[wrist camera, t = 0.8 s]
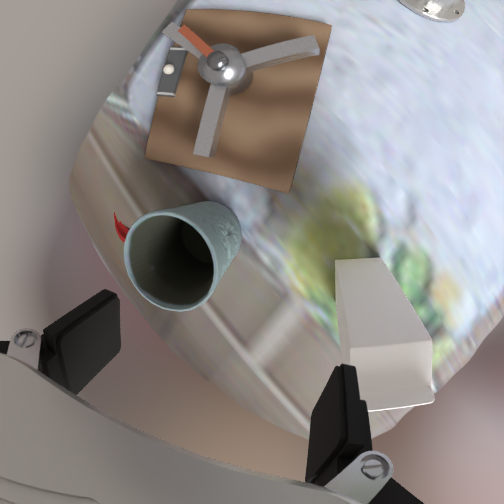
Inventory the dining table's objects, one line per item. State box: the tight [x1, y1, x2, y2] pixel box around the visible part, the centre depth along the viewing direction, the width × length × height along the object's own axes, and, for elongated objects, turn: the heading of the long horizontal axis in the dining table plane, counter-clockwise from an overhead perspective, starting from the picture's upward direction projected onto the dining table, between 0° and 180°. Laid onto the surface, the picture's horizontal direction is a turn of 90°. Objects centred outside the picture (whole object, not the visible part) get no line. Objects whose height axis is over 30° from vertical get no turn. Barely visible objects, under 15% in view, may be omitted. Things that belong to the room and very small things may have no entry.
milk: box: [335, 257, 435, 412], centre depth 25 cm, size 6×6×22 cm
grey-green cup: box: [124, 201, 242, 311], centre depth 32 cm, size 10×10×12 cm
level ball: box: [163, 64, 174, 74], centre depth 30 cm, size 1×1×1 cm
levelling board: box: [145, 9, 332, 193], centre depth 31 cm, size 22×19×2 cm
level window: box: [157, 47, 188, 97], centre depth 30 cm, size 7×2×1 cm, turn 165°
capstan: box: [162, 22, 320, 158], centre depth 27 cm, size 16×18×6 cm
